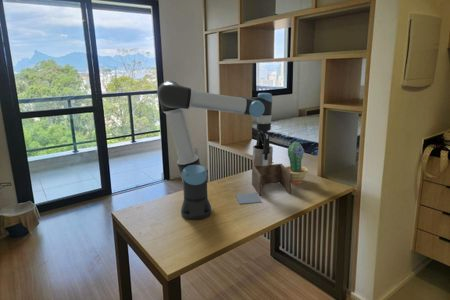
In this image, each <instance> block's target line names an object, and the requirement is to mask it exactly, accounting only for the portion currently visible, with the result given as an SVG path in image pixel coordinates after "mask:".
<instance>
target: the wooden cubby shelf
mask: <svg viewBox="0 0 450 300" xmlns="http://www.w3.org/2000/svg"><path fill="white" fill-rule="evenodd" d="M269 184H270V185H271V184H280V185H281V186H282V187H283V188H284V190H285V191H286V192H287V193H288V194H289V195H291V194H292V173H291V172H290V171H289V170H288V169H287V168H285V165H283V164H282V163H275V164H274V163H272V164H271V165H270V166H264V167H263V166H256V165H254V164H253V165H251V185H252V187H253V188H254V190H255V193H257V195H258V197H262V192H263V191H262V188H263V187H262V185H269Z"/></svg>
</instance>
